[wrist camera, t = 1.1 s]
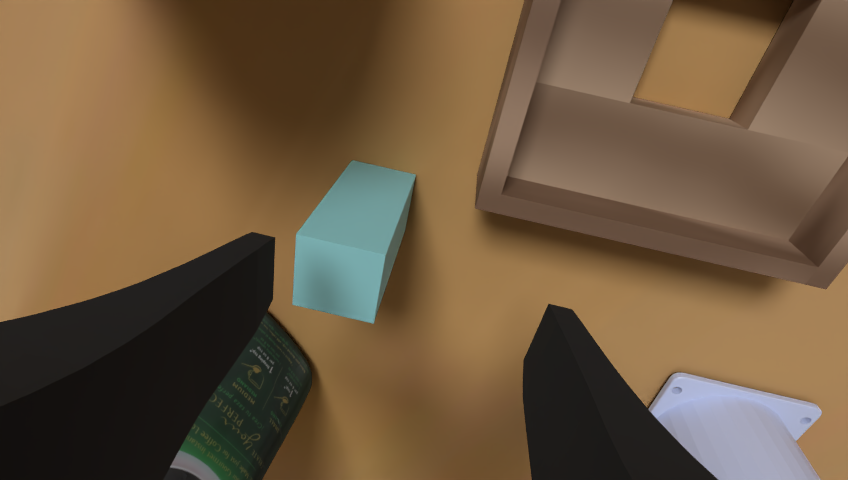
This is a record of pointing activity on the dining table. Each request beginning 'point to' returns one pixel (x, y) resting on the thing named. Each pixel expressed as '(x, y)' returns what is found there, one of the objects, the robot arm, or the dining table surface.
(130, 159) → the dining table surface
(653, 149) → the socket box
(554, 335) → the robot arm
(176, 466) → the coffee jar
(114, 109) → the dining table surface
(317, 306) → the peg
